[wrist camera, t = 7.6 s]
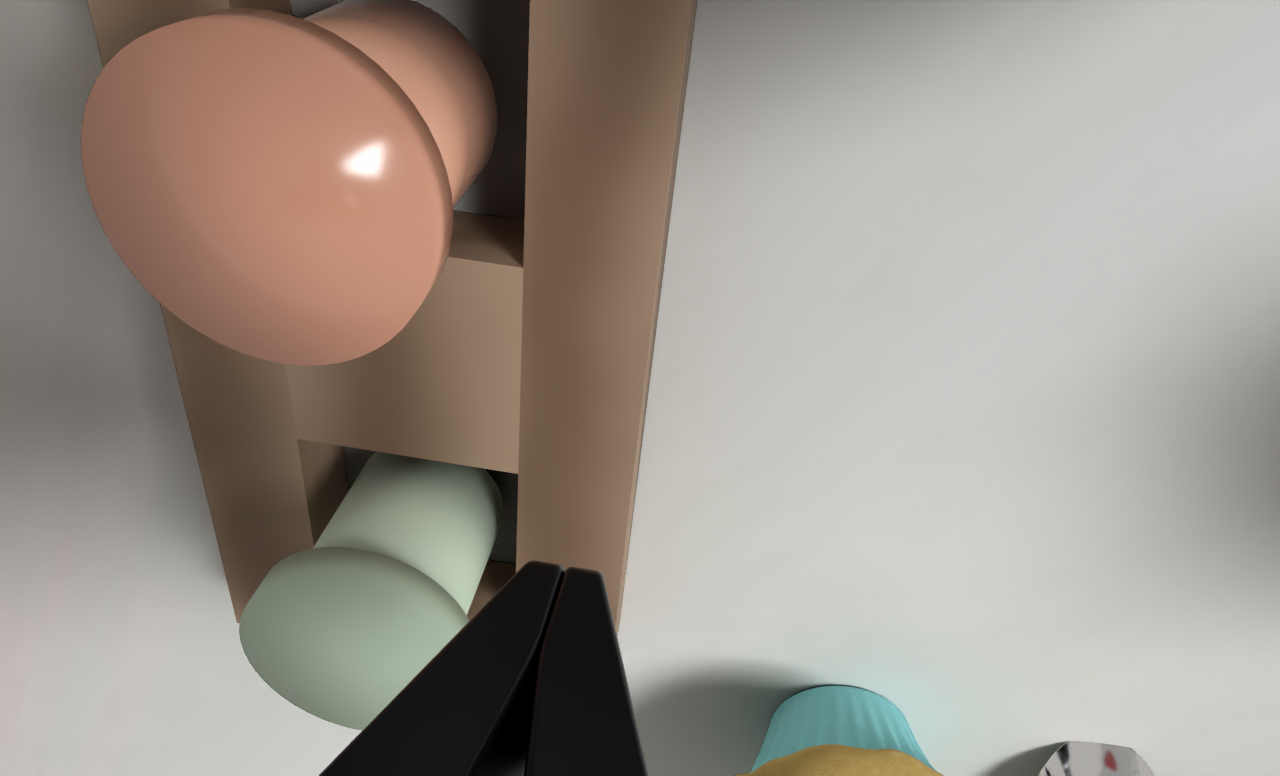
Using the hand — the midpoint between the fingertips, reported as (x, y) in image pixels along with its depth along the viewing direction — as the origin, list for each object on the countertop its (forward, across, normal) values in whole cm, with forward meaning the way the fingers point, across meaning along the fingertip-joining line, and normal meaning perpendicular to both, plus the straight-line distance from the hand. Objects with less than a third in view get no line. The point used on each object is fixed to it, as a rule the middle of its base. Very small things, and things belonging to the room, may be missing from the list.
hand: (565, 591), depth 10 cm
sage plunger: (+12, +6, +11) cm, 17 cm away
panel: (+13, +6, +4) cm, 15 cm away
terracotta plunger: (+11, +6, -1) cm, 13 cm away
